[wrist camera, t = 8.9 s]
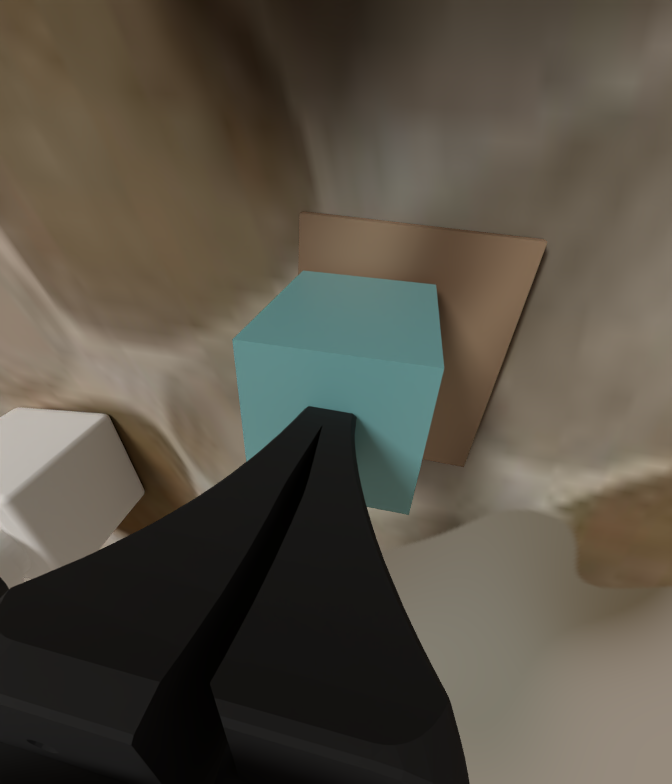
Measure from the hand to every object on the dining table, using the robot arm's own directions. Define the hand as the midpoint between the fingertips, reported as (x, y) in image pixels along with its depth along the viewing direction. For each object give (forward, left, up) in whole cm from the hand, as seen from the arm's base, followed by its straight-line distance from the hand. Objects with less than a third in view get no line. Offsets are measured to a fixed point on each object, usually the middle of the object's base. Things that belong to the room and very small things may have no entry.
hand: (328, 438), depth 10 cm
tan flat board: (-2, +1, -8) cm, 8 cm away
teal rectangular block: (0, 0, -7) cm, 7 cm away
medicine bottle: (+18, +12, -8) cm, 23 cm away
